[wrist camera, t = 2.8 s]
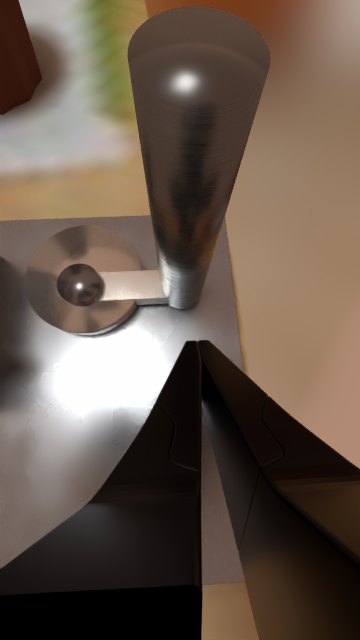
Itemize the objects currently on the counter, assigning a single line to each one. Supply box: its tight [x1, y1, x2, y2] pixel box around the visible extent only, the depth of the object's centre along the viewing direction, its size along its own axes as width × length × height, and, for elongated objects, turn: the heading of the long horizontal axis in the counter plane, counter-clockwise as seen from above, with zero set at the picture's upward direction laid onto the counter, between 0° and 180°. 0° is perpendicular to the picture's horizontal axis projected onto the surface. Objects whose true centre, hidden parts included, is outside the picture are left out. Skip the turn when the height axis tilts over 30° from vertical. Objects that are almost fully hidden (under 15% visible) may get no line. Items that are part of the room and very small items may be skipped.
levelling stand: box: [0, 215, 245, 585], centre depth 12 cm, size 22×17×8 cm
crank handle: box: [25, 6, 270, 335], centre depth 10 cm, size 7×11×12 cm, turn 93°
